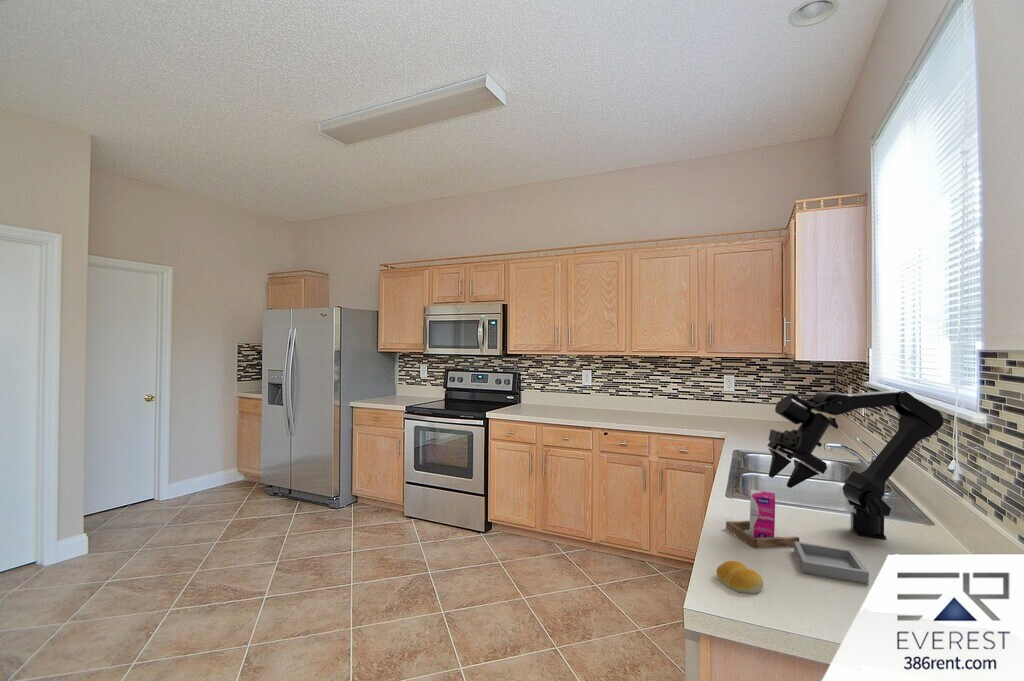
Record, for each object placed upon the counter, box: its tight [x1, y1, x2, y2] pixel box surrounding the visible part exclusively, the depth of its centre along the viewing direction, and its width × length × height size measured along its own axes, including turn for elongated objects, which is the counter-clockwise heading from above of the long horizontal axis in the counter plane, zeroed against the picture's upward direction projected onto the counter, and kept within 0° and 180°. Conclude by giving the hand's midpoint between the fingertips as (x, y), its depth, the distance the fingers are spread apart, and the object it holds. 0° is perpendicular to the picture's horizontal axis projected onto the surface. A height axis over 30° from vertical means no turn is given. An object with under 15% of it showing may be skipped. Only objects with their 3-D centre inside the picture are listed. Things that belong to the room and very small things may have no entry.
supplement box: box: [749, 489, 776, 538], centre depth 125 cm, size 6×6×12 cm
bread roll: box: [715, 560, 764, 594], centre depth 100 cm, size 8×9×4 cm
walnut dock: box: [725, 520, 800, 549], centre depth 124 cm, size 12×12×2 cm
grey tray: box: [793, 541, 870, 584], centre depth 108 cm, size 12×12×2 cm
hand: (778, 481), depth 129 cm, fingers open, 9 cm apart
